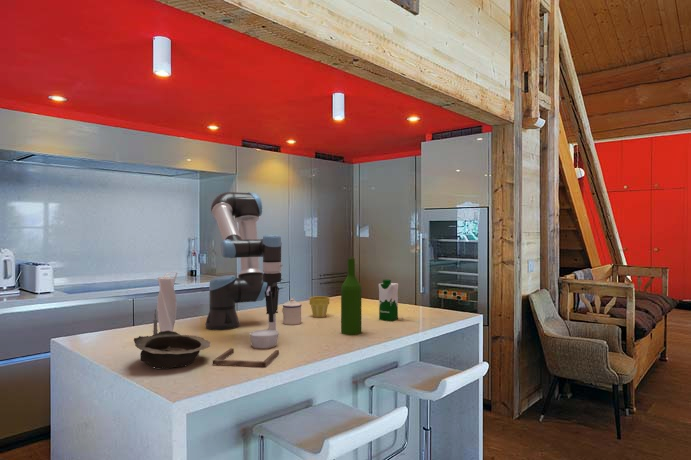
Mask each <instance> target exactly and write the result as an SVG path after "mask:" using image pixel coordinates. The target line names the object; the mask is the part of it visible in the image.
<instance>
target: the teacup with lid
mask: <svg viewBox="0 0 691 460" xmlns="http://www.w3.org/2000/svg"><path fill="white" fill-rule="evenodd" d="M281 312H282V317H283V318H282V323H283V324H284V325H287V326H293V325H300V324H301V323H302V303H301V302H298V301H296V300H295V299H294V298H290V299H289V301H286V302H285V303H283V304H282V309H281Z"/></svg>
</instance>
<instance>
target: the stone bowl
mask: <svg viewBox="0 0 691 460" xmlns="http://www.w3.org/2000/svg"><path fill="white" fill-rule="evenodd" d="M173 331H174V330H173ZM173 331H161V332H160V331H158V332H157V334H154V335H153V334H152V335H145V336H142V335H140V336H138V337H133V343H134V344H135V347H136V348H137V349H139V350H140V355H139V356H140V357H139V358H140V361H141V362H144V363H147V364H149V366H150V367H151V368H152V367H155V368H162V369H165V368H169V369H172V368H174V367H186V366H185V365H187V366H188V365H190V364H192V363H194V362H195V361H196V359H197V358H198V356H199V353H200V351H203V350H206V349H208V348H210V347H211V341H209V340H208V339H205V338H204V337H201V336H199V335H190V334H189V335H188V334H180V333H178V332H176V331H174V332H173ZM171 367H172V368H171ZM155 368H154V369H155Z"/></svg>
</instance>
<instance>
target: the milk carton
mask: <svg viewBox="0 0 691 460" xmlns="http://www.w3.org/2000/svg"><path fill="white" fill-rule="evenodd" d="M391 280H392V279H383V280H382V283H378V291H379V292H378V296H379V297H378V302H379V303H378V307H379V308H378V311H379V312H378V316H379V317H378V320H379V321H387V322H393V321H396V320H398V319H399V311H398V309H399V303H398V302H399V298H398V297H399V294H398V293H399V292H398V291H399V283H395V282H392V281H391Z"/></svg>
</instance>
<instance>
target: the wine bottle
mask: <svg viewBox="0 0 691 460" xmlns="http://www.w3.org/2000/svg"><path fill="white" fill-rule="evenodd" d="M355 260H356V258H353V257H350V258H349V257H348V258H347V277H346V278H345V280H344V281H343V283H342V284H341V287H340V295H341V296H340V331H341V332H340V333H341V334H343V335H346V336H355V335H356V336H358V335H360V334H362V286H361V284H360V281H359V279H357V277H356V269H355V267H356V264H355Z"/></svg>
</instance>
